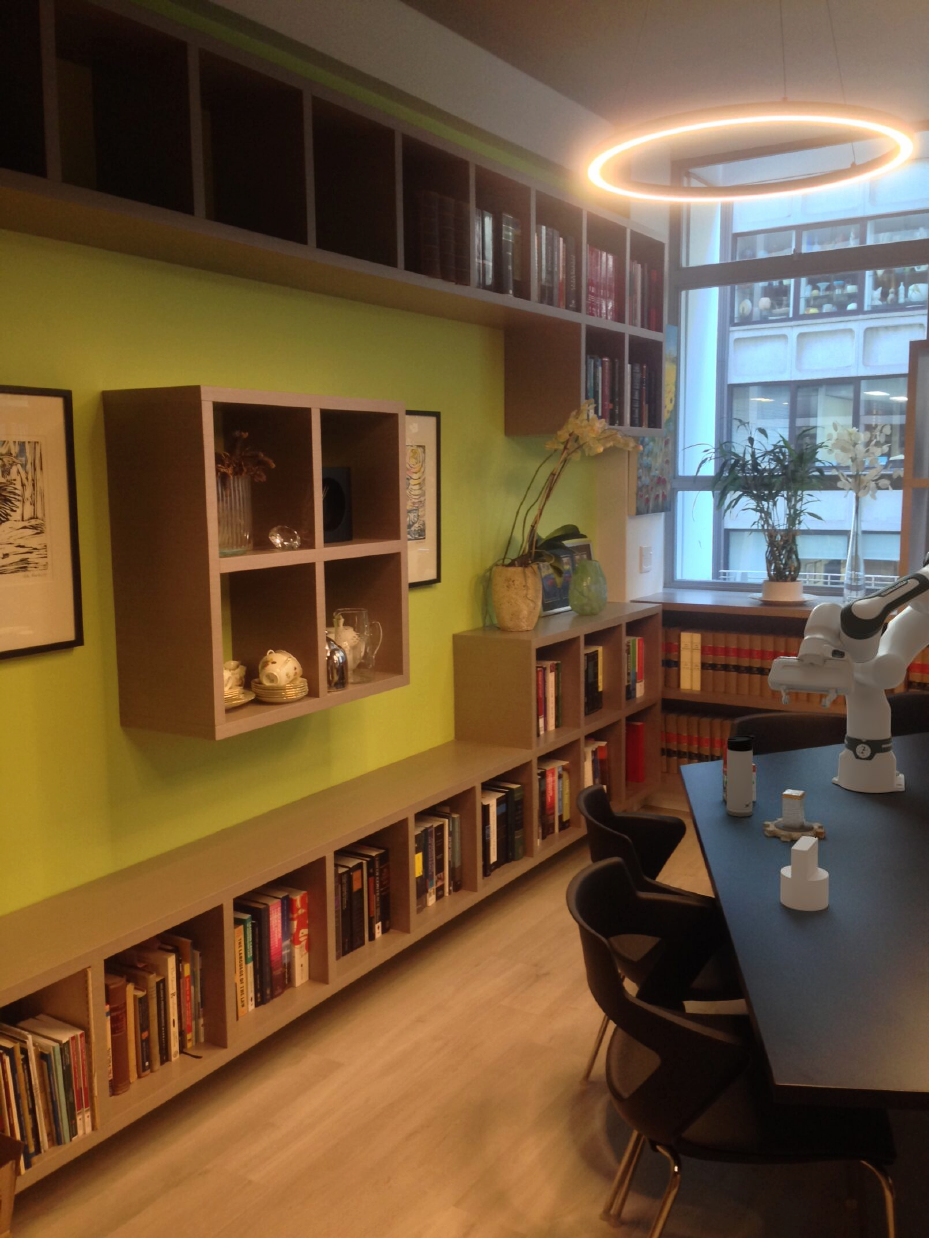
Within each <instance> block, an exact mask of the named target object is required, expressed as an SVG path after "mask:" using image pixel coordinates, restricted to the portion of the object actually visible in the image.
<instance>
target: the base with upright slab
mask: <svg viewBox="0 0 929 1238" xmlns="http://www.w3.org/2000/svg"><path fill="white" fill-rule="evenodd" d="M818 854H819V838H817V837H816V838H815V837H809V836H802V837H801V838H800V839H799V840H796V843H794V845H792V847H791V849H790V865H787V866H783V867H782V868H781V869H780V890H779V891H780V902H781V904H782V905H784V906H786V907H787V908H789V909H793V910H796V911H806V912H815V911H820V910H824V909H826V908H827V907H828V906H829V892H830V891H829V889H830V888H829V886H830V885H829V881H830V877H829V875H830V874H829V872H828V871H826V870H825V869H823V868H820V867H819V865H818V864H819V855H818Z"/></svg>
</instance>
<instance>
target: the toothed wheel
mask: <svg viewBox="0 0 929 1238" xmlns="http://www.w3.org/2000/svg"><path fill="white" fill-rule="evenodd" d="M762 825H763V828H762V829H763V830H764V835H766V836H767V837H776V838H780V841H784V842H788V843H789V842H791V841H798V840H799V839H800V838H801V837H802V836H809V837H816V838H818V839H824V838H825V837H826V829H824V824H821V823H820V822H810V821H807V819H806V818H804V825H803V826H802V827H801V828H800V829H797V828H790V827H784V826H782V817H776V818H775V821H766V820H765V822H763V823H762ZM824 836H825V837H824Z"/></svg>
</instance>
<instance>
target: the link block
mask: <svg viewBox="0 0 929 1238" xmlns="http://www.w3.org/2000/svg"><path fill="white" fill-rule="evenodd" d="M805 796H806V792H805V790H804V791H803V790H796V789H788V788H787V789H786V790H785V791H784V792H782V797H781V799H782V808H781V809H782V810H781V811H782V812H781V813H782V815H781V816H782V817H781V818H782V826H784V827H790V828H797V829H800V828H801V827H802V826H803V825H804V819H805Z"/></svg>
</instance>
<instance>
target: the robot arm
mask: <svg viewBox="0 0 929 1238" xmlns="http://www.w3.org/2000/svg"><path fill="white" fill-rule="evenodd" d="M906 605H907V607H905V606H906ZM903 607H905V608H904V609H903V610H902V611H901V612H900V613H898V614H897V615H895V616H894V617H893V618H892V619H890V621H889V622H888V623H887V624H886V625H887V627H886V630H885V631H884V633H883V634H882V632H883V627H884V625H885V623H886V620H887V619H888V617H889V616H891V614H893V613H894V612H896V611H898V610H899V609H901V608H903ZM803 636H804V638H803V639H802V641H801V643H800V646H799V649H798V650H799V652H798V654H797V657H796V656H790V657H788V656H779V657H777V658H775V659H774V660H773V661H772V664H771V669H770V672H769V674H768V676H767V683H768V685H769V688H771V690H773V691H780V692H781V695H782V698H781V704H782V705H790V703H791V698H790V695H789V694H788V693H789V692H798V693H800V692H801V693H813V694H823V695H827V696H826V697H822V700H821V703H820V705H821V708H825V709H829V708H830V704H831V703H832V702H833V701H834V700H835V699H837V696H838V695H839V696H845V701H846V733H845V737H844V747H845V749H844V750H843V751H842V752H841V753H839V756H838V769H837V776H835V777H833V778H832V779H831V783H833V784H836V785H839V786H840V787H842V788H843V789H847V790H850V791H854V792H860V793H861V792H862V793H869V794H870V793H871V794H873V793H874V794H875V793H876V794H879V793H881V794H882V793H890V792H905V788H906V787H905V786H906V785H905V775H904V774H903V773H900V771H899V770H897V758H896V756H895V754H894V751H893V737H892V733H891V727H892V726H891V723H892V722H891V719H892V718H891V717H892V713H891V712H892V709H891V706H890V705H891V704H890V703H889V701H888V699H887V696H886V692H885V690H890V689H894V688H897V687H899V686H900V684H902V683H903V682H904V679H905V677H906V676H907V675H906V674H907V669H908V667H910V665H911V664H912V662H913V661H914V659H915V658H916V657H917V656H918V655H919V654H920V653H921V651H922V650H924V649H925V648H926V647H928V646H929V551H928V552H927V553H926V555H925V557H924V558H923V561H922V568H920V569H919V570H917V571H916V572H913V573H909V574H907V575H904V576H902V577H900V578H898V579H897V580H895V581H893V582H891V583H889V584H887V586H884V587H882V588H881V589H879V590H876V591H875V592H873V593H871V594H868V595H866V596H865V595H864V596H861V597H858V598H857V597H856V598H854V599H852V600H850V601H847V602H846V603H845V605H843V607H842V606H841V605H840V604H838V603H835V602H822V603H820V604H817V606H815V607H814V608H813V609H812V610H811V612H810V614H809V616H808V618H807V621H806V624H805V628H804V632H803Z"/></svg>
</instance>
